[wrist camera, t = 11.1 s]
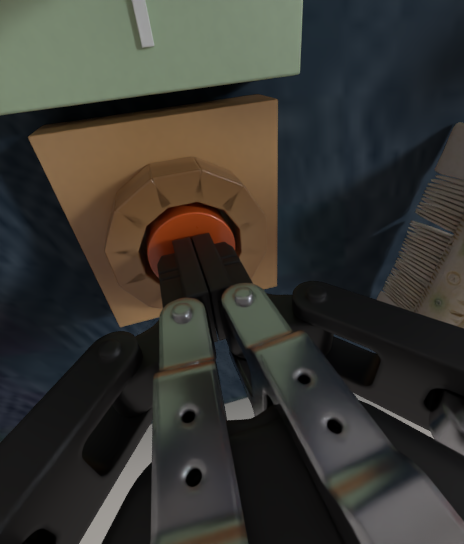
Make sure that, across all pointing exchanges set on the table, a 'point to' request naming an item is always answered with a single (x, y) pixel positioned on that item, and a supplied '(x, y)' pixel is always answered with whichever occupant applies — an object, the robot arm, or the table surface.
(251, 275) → the button box
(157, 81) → the green dial box
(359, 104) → the table surface
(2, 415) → the table surface
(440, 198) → the comb
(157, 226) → the button
